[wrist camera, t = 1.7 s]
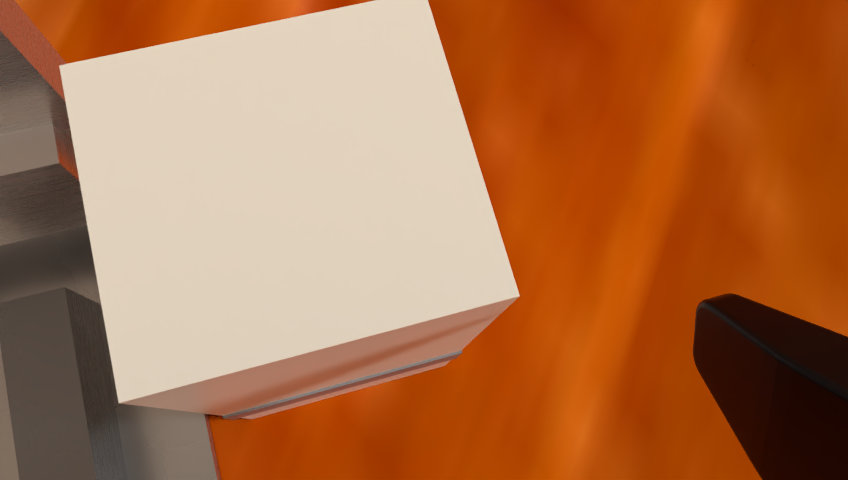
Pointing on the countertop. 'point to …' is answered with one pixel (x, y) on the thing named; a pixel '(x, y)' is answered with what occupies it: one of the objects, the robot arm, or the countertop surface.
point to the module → (284, 210)
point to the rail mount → (63, 303)
